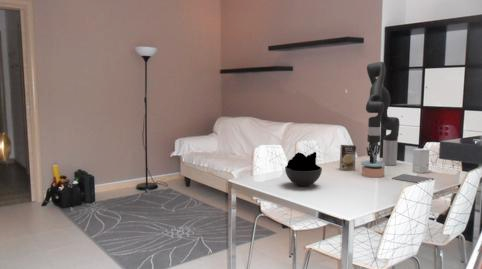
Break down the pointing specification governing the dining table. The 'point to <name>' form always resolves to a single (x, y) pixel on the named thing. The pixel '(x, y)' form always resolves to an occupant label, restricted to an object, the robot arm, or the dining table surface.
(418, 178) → the mat
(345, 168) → the coffee box
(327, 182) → the dining table surface
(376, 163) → the lid
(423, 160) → the skincare box
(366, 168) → the bowl
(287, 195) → the dining table surface
